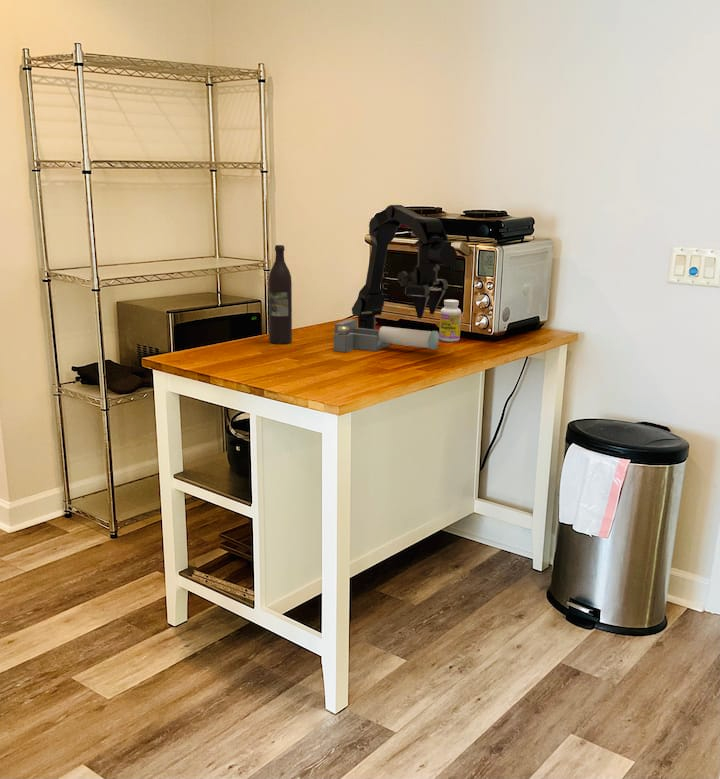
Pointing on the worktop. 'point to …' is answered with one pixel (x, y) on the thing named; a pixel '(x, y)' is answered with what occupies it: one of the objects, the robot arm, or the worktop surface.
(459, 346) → the worktop surface
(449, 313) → the supplement bottle
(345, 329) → the release plunger
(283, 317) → the wine bottle
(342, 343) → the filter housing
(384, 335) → the cylinder
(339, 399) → the worktop surface
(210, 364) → the worktop surface
